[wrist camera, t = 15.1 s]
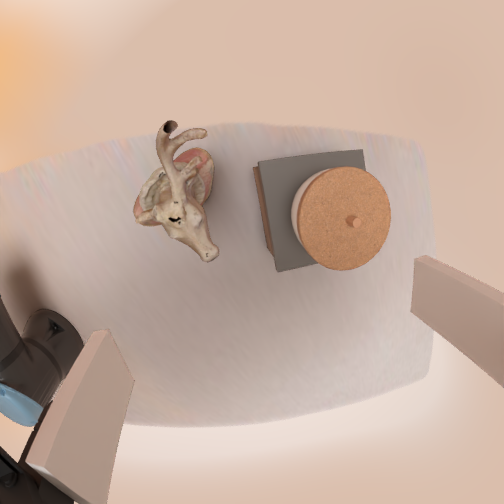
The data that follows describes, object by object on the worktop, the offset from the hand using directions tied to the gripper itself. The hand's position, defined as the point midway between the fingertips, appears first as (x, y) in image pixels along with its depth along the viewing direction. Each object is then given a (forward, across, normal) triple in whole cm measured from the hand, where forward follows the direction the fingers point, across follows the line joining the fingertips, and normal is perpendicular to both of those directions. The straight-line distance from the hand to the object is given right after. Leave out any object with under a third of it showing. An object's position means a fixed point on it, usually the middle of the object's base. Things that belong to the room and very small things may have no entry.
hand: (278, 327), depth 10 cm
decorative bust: (+34, -5, +4) cm, 34 cm away
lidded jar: (+23, +11, 0) cm, 26 cm away
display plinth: (+33, +12, 0) cm, 35 cm away
